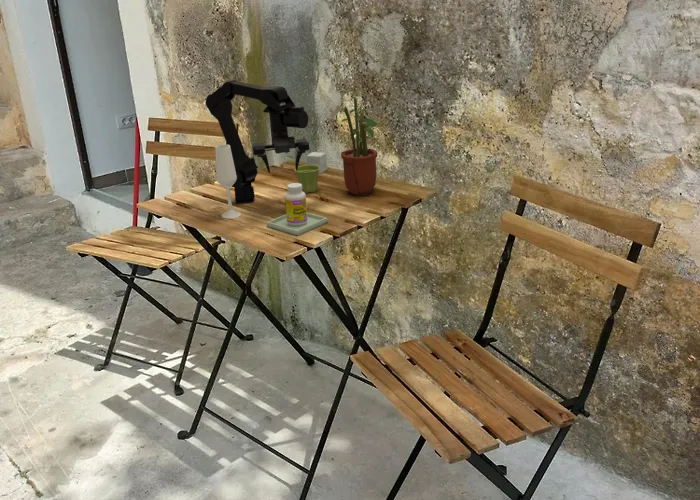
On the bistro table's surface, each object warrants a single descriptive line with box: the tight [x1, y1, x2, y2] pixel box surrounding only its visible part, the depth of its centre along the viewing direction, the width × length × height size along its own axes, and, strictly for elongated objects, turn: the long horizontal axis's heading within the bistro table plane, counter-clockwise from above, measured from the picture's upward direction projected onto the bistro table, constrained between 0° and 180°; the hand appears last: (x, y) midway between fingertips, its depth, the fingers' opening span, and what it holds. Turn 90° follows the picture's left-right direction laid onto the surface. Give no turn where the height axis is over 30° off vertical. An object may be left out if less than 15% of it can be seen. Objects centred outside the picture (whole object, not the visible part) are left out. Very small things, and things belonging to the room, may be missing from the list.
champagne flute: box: [214, 143, 242, 219], centre depth 219 cm, size 7×7×24 cm
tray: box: [266, 212, 329, 237], centre depth 212 cm, size 14×14×2 cm
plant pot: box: [293, 164, 320, 194], centre depth 243 cm, size 9×9×9 cm
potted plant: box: [334, 96, 379, 196], centre depth 235 cm, size 17×16×35 cm
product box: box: [306, 151, 328, 175], centre depth 266 cm, size 6×6×7 cm
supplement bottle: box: [284, 182, 308, 226], centre depth 210 cm, size 7×7×13 cm
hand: (282, 171), depth 223 cm, fingers open, 9 cm apart
